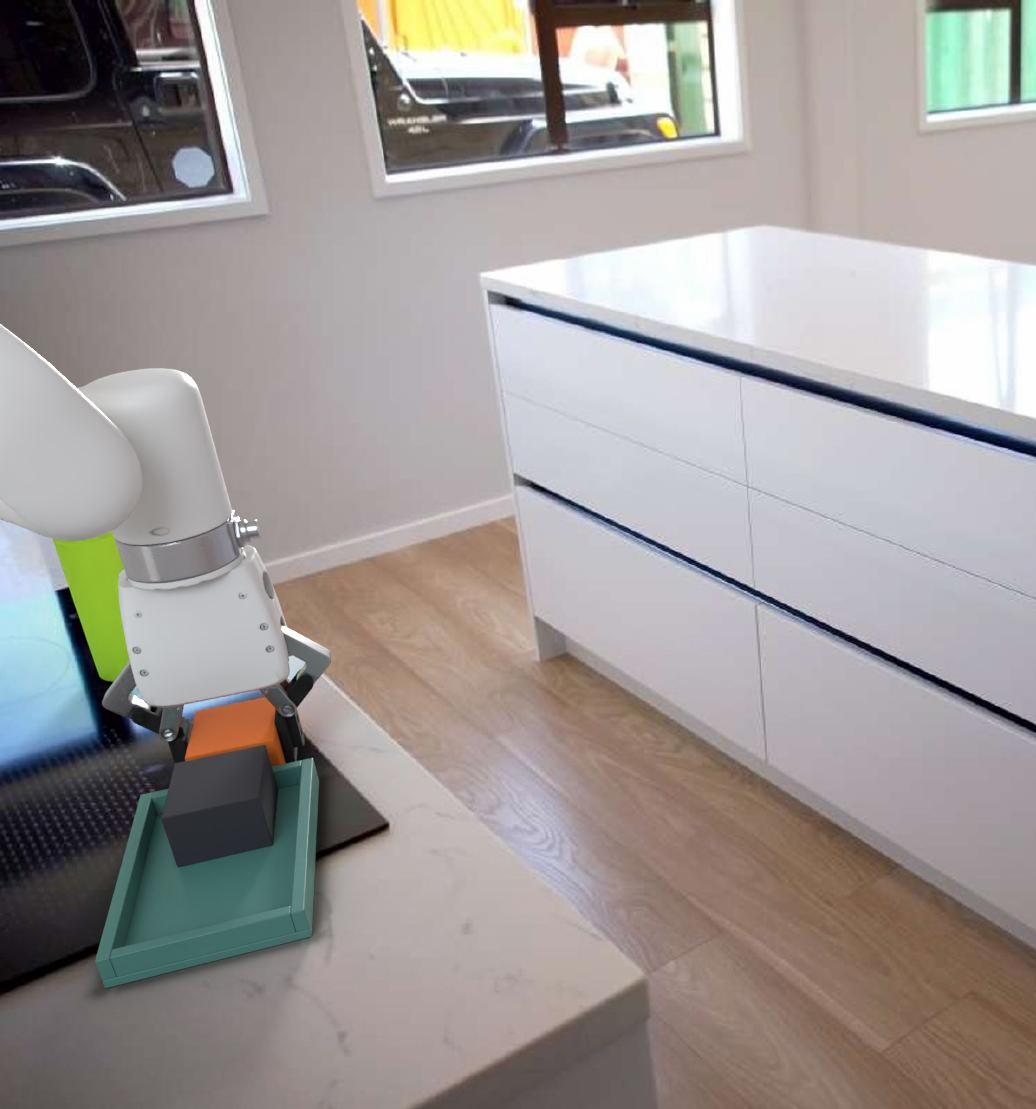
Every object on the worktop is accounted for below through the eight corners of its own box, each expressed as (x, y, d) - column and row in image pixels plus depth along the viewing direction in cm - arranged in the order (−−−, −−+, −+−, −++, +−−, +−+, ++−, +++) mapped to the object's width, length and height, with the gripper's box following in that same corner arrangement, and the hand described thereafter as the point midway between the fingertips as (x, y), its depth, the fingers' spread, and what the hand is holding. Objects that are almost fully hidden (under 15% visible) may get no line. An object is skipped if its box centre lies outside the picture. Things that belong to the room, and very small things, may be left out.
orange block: (199, 804, 92) (184, 758, 90) (208, 754, 98) (195, 710, 96) (286, 785, 93) (273, 739, 92) (291, 737, 99) (279, 693, 98)
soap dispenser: (76, 687, 109) (0, 470, 101) (126, 648, 115) (58, 441, 107) (138, 688, 108) (67, 469, 100) (185, 649, 114) (121, 440, 106)
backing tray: (104, 989, 75) (94, 961, 74) (148, 818, 90) (140, 794, 90) (311, 936, 78) (304, 909, 77) (319, 781, 94) (313, 757, 93)
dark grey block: (177, 868, 84) (160, 818, 82) (189, 810, 90) (174, 763, 88) (273, 845, 86) (258, 796, 84) (278, 790, 92) (265, 743, 90)
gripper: (314, 508, 94) (364, 716, 101) (54, 550, 89) (128, 765, 96) (310, 545, 87) (365, 764, 95) (31, 593, 82) (111, 820, 90)
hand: (244, 763), depth 95 cm, fingers closed on orange block, 6 cm apart
